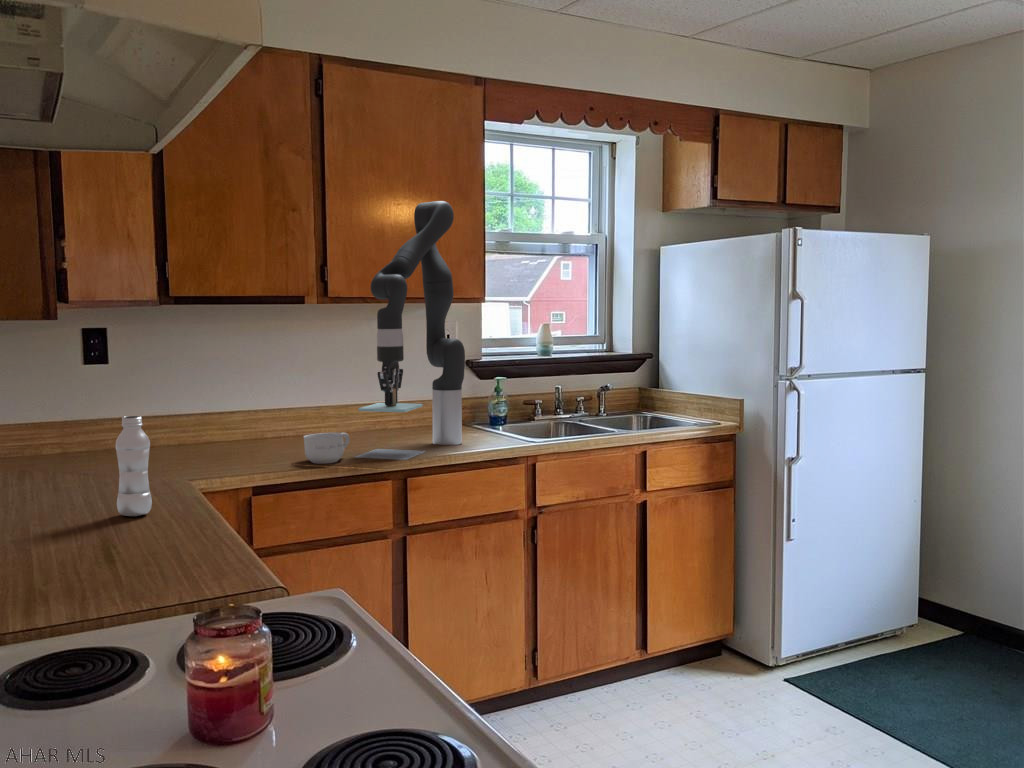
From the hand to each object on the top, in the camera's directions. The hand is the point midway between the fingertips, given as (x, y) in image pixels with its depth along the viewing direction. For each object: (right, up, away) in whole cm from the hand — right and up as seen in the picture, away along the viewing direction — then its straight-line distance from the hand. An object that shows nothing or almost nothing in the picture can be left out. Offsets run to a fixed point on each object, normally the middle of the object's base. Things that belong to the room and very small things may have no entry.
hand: (391, 404), depth 244 cm
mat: (0, -15, +1) cm, 15 cm away
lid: (0, -1, 0) cm, 1 cm away
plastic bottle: (-41, -21, -74) cm, 87 cm away
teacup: (-16, -16, -10) cm, 25 cm away
